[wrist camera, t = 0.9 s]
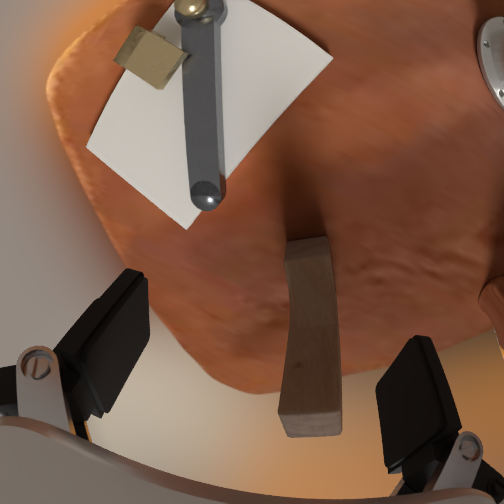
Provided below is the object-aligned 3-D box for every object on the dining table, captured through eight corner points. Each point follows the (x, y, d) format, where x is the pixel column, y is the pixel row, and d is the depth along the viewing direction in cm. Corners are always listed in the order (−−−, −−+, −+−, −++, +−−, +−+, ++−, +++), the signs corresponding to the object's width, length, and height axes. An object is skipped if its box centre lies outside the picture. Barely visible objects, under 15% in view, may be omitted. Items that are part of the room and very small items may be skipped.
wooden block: (286, 240, 32) (260, 377, 16) (327, 234, 30) (337, 371, 15) (300, 305, 35) (286, 439, 20) (336, 300, 34) (342, 436, 19)
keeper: (187, -8, 19) (167, -22, 15) (233, 17, 20) (219, 2, 16) (134, 62, 23) (108, 60, 19) (175, 90, 24) (152, 89, 20)
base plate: (202, -21, 19) (197, -25, 18) (331, 60, 22) (333, 58, 20) (93, 144, 30) (86, 147, 28) (191, 224, 33) (186, 229, 31)
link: (183, -1, 19) (174, -6, 17) (227, -8, 18) (221, -15, 16) (192, 203, 29) (184, 210, 28) (233, 204, 29) (228, 211, 27)
